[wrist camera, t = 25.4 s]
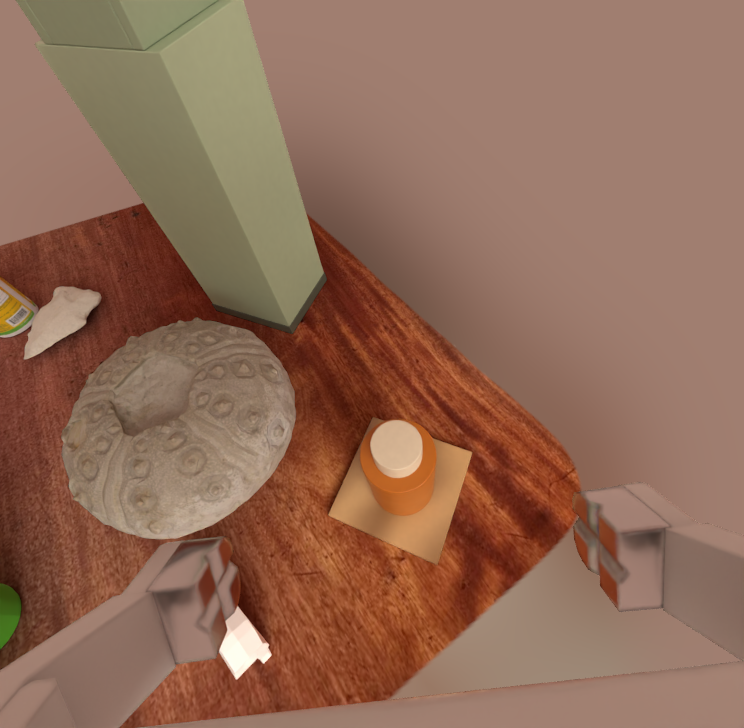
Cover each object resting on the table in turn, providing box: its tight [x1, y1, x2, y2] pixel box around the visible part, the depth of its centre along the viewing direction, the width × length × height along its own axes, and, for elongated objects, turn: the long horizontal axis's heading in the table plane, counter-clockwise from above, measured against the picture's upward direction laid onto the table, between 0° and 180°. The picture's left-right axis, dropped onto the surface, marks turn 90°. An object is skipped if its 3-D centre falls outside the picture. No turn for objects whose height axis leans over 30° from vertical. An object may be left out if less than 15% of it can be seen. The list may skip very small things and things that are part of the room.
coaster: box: [328, 417, 472, 565], centre depth 32 cm, size 9×9×1 cm
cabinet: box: [16, 0, 327, 334], centre depth 33 cm, size 10×9×28 cm
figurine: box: [219, 606, 271, 680], centre depth 26 cm, size 2×8×5 cm, turn 47°
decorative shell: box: [61, 317, 296, 539], centre depth 32 cm, size 18×18×10 cm
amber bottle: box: [360, 419, 437, 516], centre depth 28 cm, size 5×5×9 cm
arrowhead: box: [24, 286, 102, 360], centre depth 45 cm, size 7×2×10 cm
